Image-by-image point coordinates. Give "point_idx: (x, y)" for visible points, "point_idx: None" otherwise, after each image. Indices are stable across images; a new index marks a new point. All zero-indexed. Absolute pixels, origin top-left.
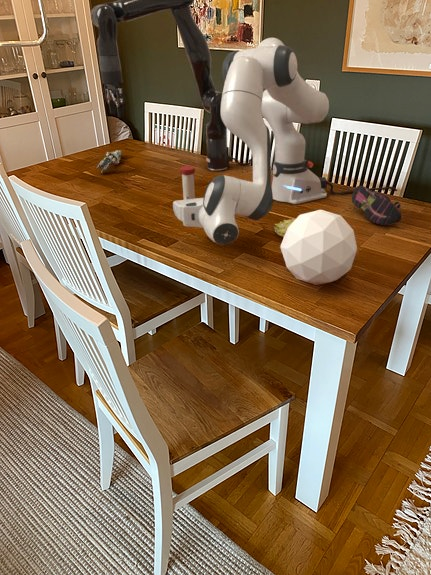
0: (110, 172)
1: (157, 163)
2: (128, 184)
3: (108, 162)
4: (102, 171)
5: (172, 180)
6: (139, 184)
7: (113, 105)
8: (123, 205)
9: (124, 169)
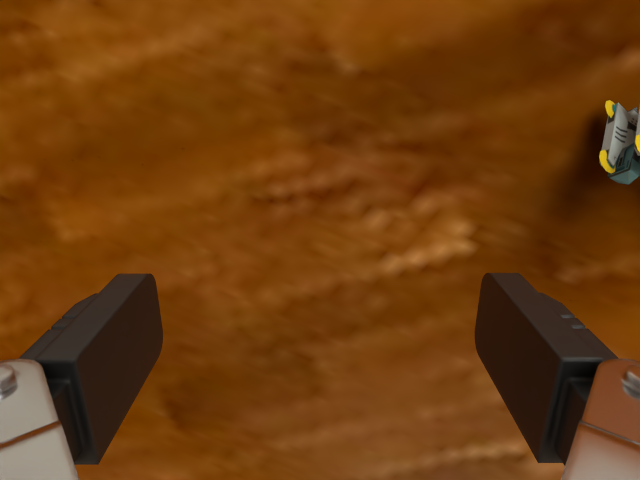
0: None
1: None
2: (370, 164)
3: (627, 160)
4: (605, 106)
5: (296, 341)
6: (337, 207)
7: (529, 407)
8: (102, 27)
9: (594, 235)
